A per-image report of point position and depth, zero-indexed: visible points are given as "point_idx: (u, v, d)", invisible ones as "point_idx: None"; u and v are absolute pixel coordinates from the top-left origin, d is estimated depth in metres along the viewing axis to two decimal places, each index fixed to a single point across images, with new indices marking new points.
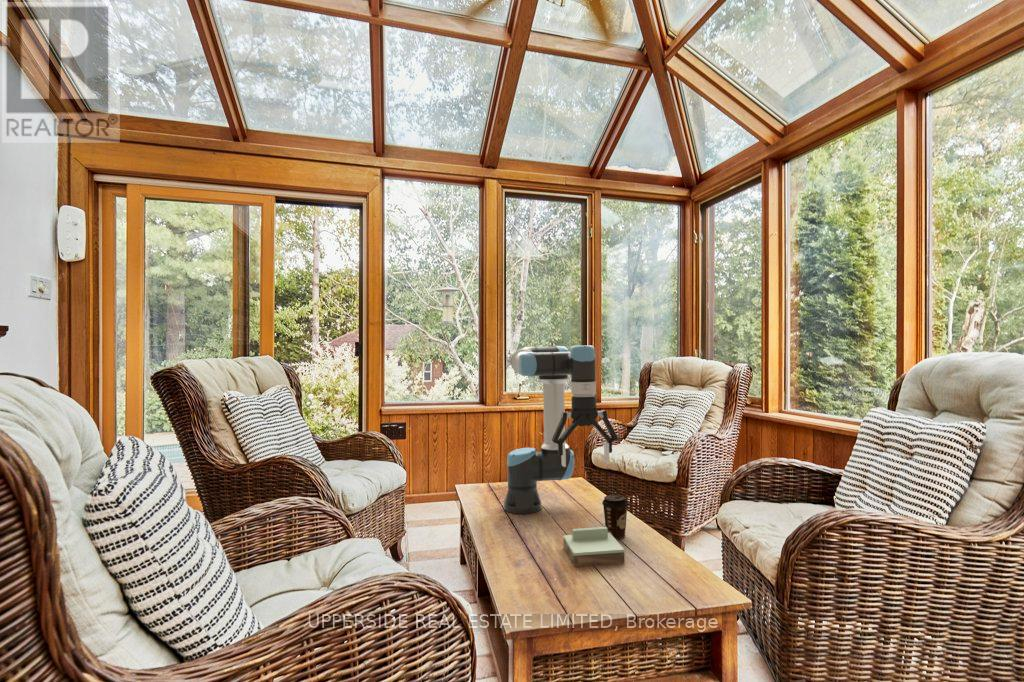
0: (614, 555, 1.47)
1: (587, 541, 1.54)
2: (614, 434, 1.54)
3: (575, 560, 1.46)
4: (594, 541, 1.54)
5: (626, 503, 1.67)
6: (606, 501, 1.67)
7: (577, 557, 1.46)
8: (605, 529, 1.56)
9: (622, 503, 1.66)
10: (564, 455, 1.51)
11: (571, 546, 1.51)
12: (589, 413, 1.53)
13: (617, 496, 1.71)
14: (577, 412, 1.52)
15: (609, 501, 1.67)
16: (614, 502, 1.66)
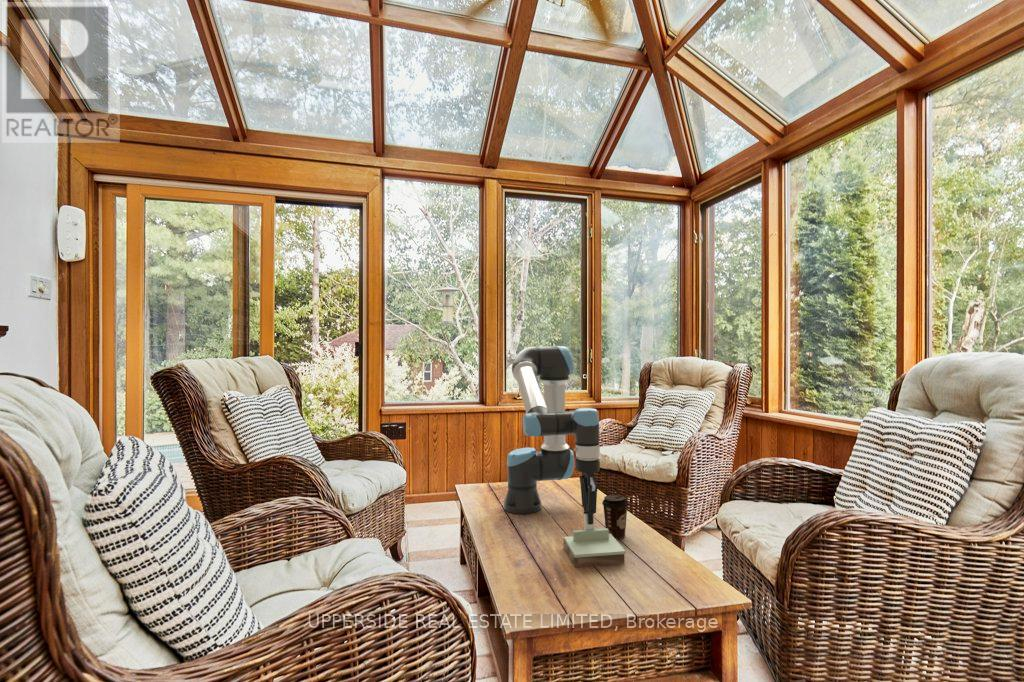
0: (614, 555, 1.47)
1: (588, 542, 1.53)
2: (588, 508, 1.53)
3: (575, 560, 1.46)
4: (595, 543, 1.53)
5: (626, 503, 1.67)
6: (606, 501, 1.67)
7: (577, 557, 1.46)
8: (606, 530, 1.55)
9: (622, 503, 1.66)
10: None
11: (572, 548, 1.49)
12: (586, 478, 1.55)
13: (617, 496, 1.71)
14: None
15: (609, 501, 1.67)
16: (614, 502, 1.66)
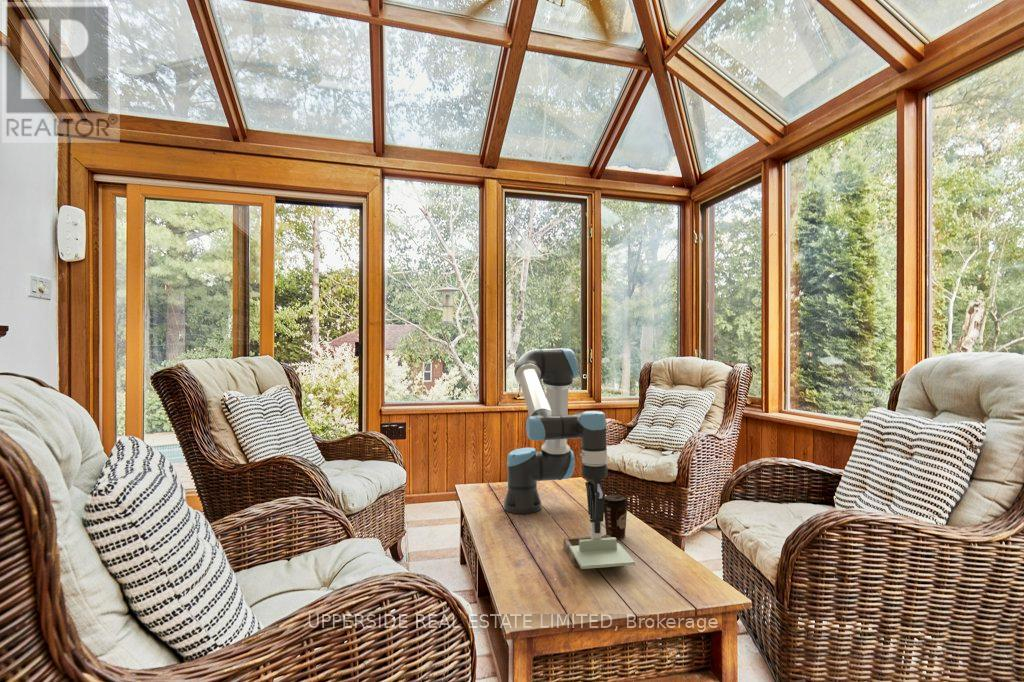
0: None
1: (595, 552, 1.46)
2: (595, 516, 1.46)
3: (575, 560, 1.46)
4: (602, 553, 1.45)
5: (626, 503, 1.67)
6: (606, 501, 1.67)
7: None
8: (614, 540, 1.48)
9: (622, 503, 1.66)
10: (591, 531, 1.50)
11: (578, 558, 1.42)
12: (593, 484, 1.48)
13: (617, 496, 1.71)
14: None
15: (609, 501, 1.67)
16: (614, 502, 1.66)
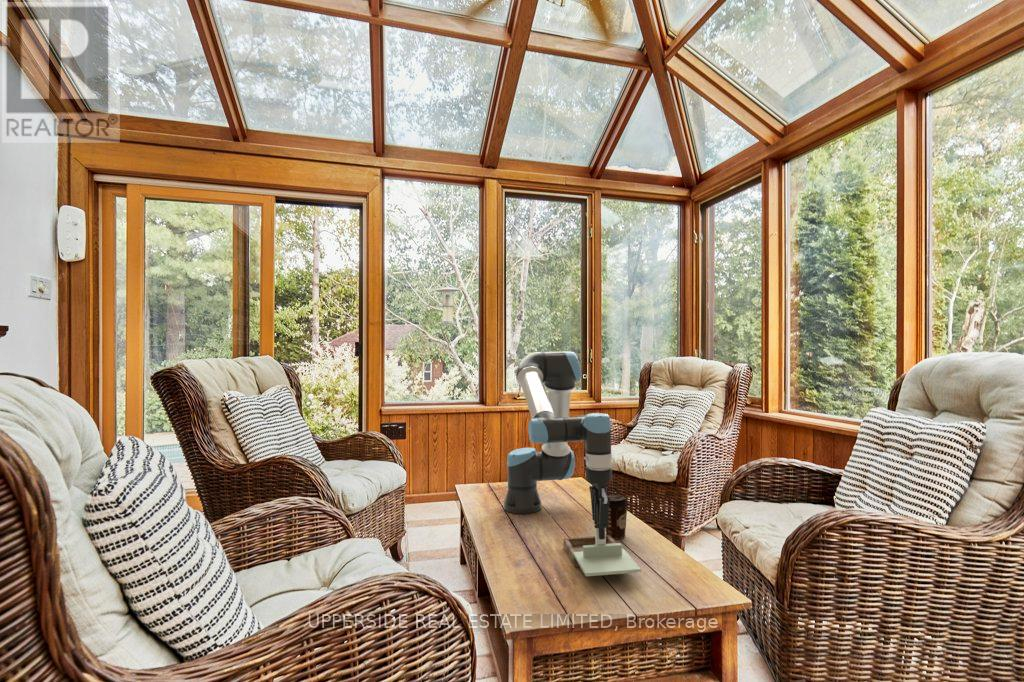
0: None
1: (599, 558, 1.41)
2: (599, 521, 1.41)
3: (575, 560, 1.46)
4: (607, 559, 1.41)
5: (626, 503, 1.67)
6: None
7: None
8: (619, 546, 1.43)
9: (622, 503, 1.66)
10: (595, 536, 1.45)
11: (582, 565, 1.38)
12: (597, 489, 1.43)
13: (617, 496, 1.71)
14: None
15: None
16: (614, 502, 1.66)
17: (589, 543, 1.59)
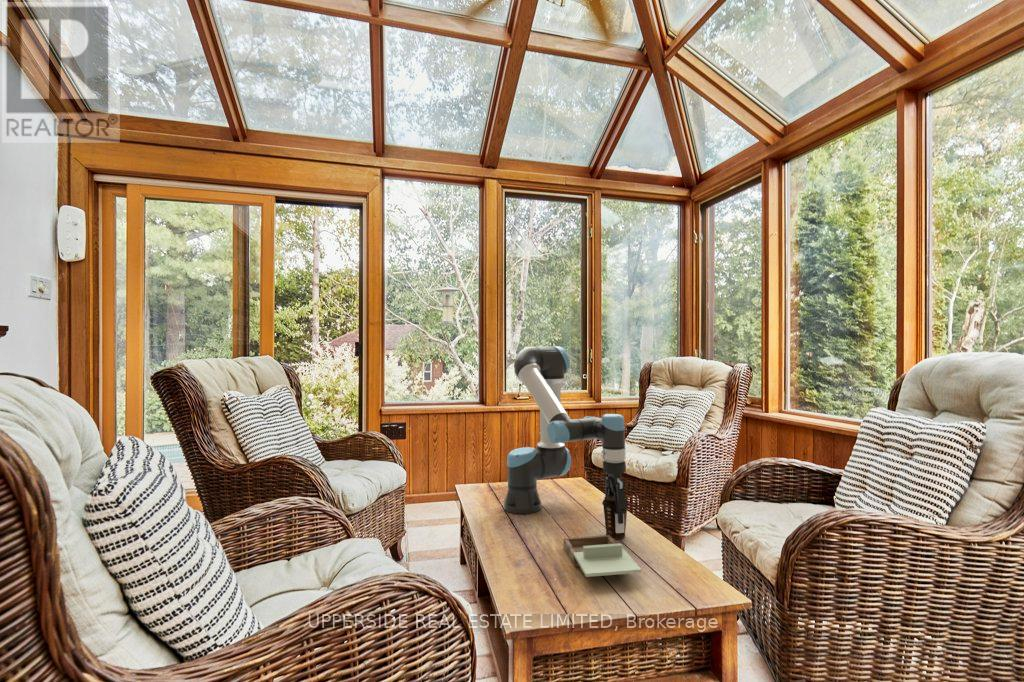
0: None
1: (599, 559, 1.41)
2: (618, 507, 1.62)
3: (575, 560, 1.46)
4: (607, 559, 1.41)
5: (626, 503, 1.67)
6: (606, 501, 1.67)
7: None
8: (619, 546, 1.43)
9: None
10: None
11: (583, 565, 1.37)
12: (612, 478, 1.67)
13: None
14: None
15: (609, 501, 1.67)
16: (614, 502, 1.66)
17: (589, 543, 1.59)
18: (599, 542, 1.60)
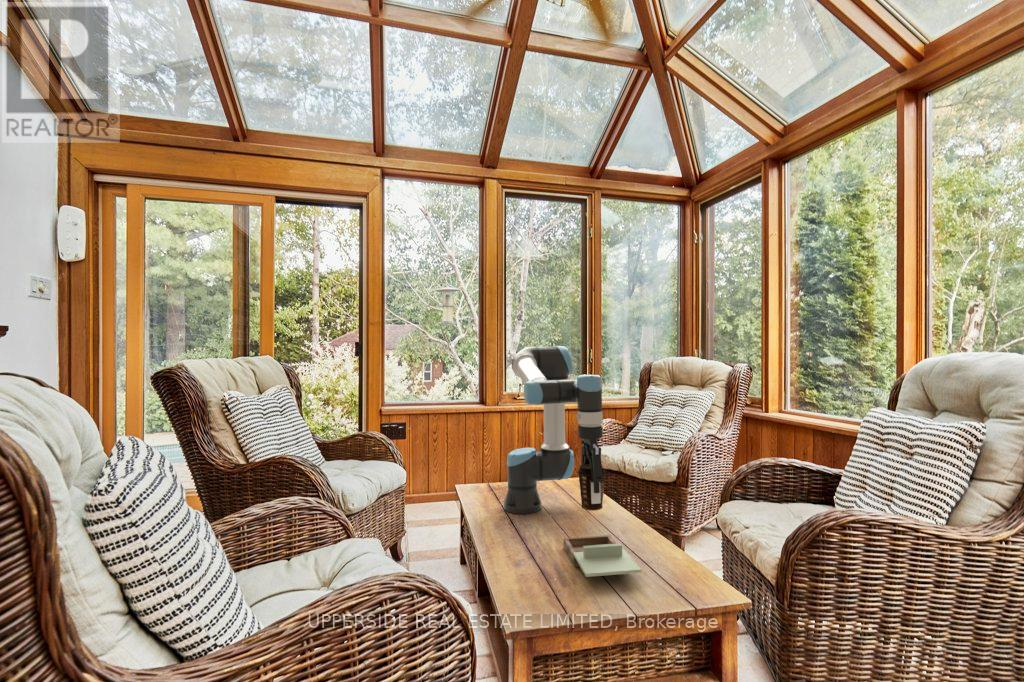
0: None
1: (599, 559, 1.41)
2: (593, 475, 1.47)
3: (575, 560, 1.46)
4: (607, 559, 1.41)
5: (603, 471, 1.52)
6: (582, 469, 1.53)
7: None
8: (619, 546, 1.43)
9: None
10: None
11: (583, 565, 1.37)
12: (588, 444, 1.52)
13: None
14: (584, 439, 1.57)
15: (585, 469, 1.52)
16: (590, 470, 1.51)
17: (589, 543, 1.59)
18: (599, 542, 1.60)
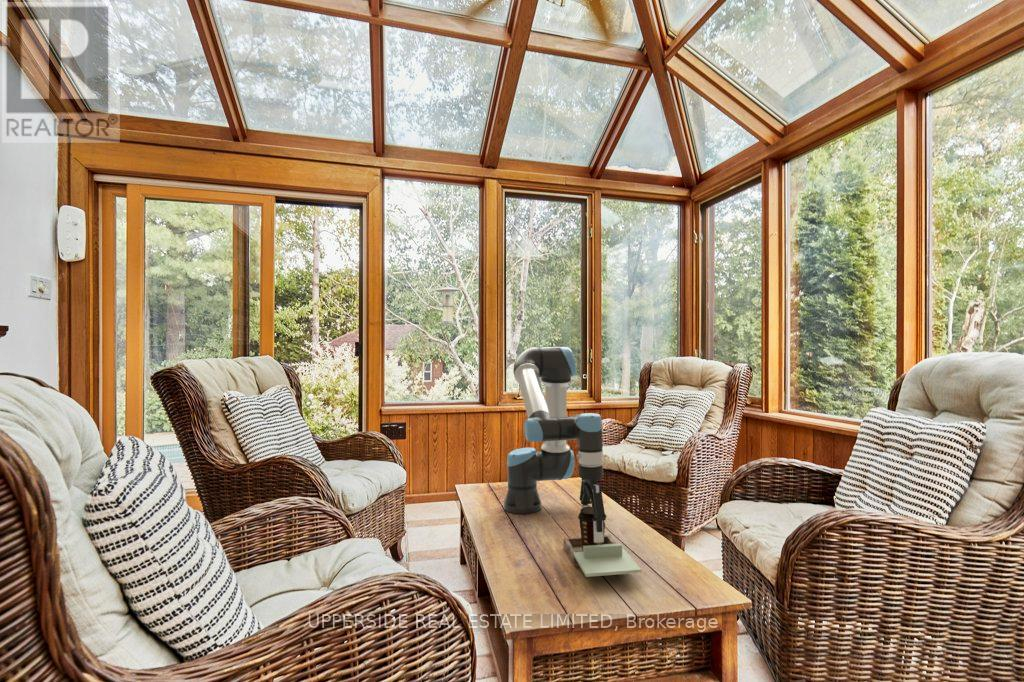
0: None
1: (599, 559, 1.41)
2: (596, 513, 1.45)
3: (575, 560, 1.46)
4: (607, 559, 1.41)
5: None
6: (582, 514, 1.52)
7: None
8: (619, 546, 1.43)
9: None
10: None
11: (583, 565, 1.37)
12: (588, 483, 1.52)
13: None
14: (585, 478, 1.56)
15: (585, 514, 1.51)
16: (590, 515, 1.50)
17: None
18: None
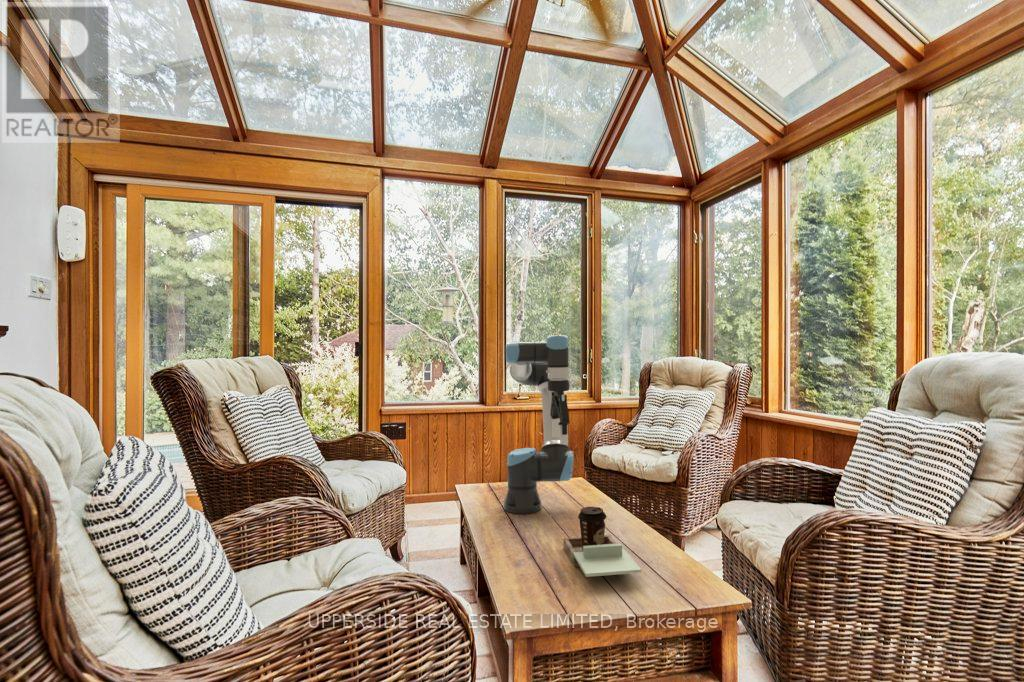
0: None
1: (599, 559, 1.41)
2: (561, 418, 1.65)
3: (575, 560, 1.46)
4: (607, 559, 1.41)
5: (604, 516, 1.51)
6: (582, 514, 1.52)
7: None
8: (619, 546, 1.43)
9: (599, 516, 1.50)
10: (552, 427, 1.81)
11: (583, 565, 1.37)
12: (556, 395, 1.73)
13: (595, 508, 1.55)
14: (554, 393, 1.77)
15: (585, 514, 1.51)
16: (591, 515, 1.50)
17: None
18: None
